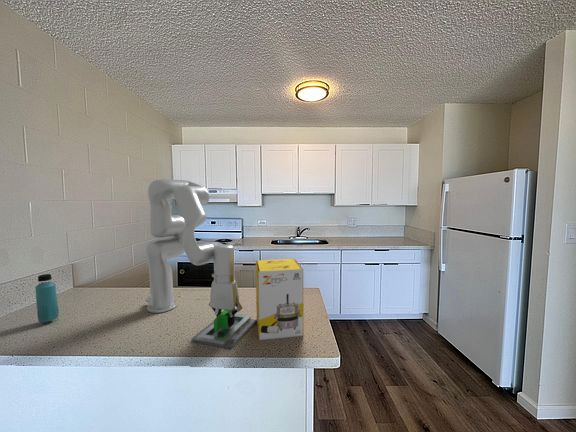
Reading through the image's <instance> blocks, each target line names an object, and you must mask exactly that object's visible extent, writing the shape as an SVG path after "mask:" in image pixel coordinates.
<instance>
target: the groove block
mask: <svg viewBox="0 0 576 432" xmlns="http://www.w3.org/2000/svg"><path fill="white" fill-rule="evenodd" d="M255 324H257V319H254V318H253V319H252V316H251V315H245V314H238V313H236V314H235V323H234V324H233V325H232V326H231V327H228V329H221V328H220V330H219V331H218V332H214V320H213V321H212V322H210V323H209V324H208V325H207V326H206V327H204V328H203V329H202V330H200V331H199V332H197V333H196V334H195V335H194V336H193V337H191V339H190V340H191V342H193V343H197V344H198V343H199V344H204V345H208V346H214V347H219V348H223V349H228V350H232V349H233V348H234V347H235V345H236V344H238V342H239V341H240V340H242V338H243V337H244V336H245V335H246V334H247V333H248V332H249V331H250V330H251V329H252V328H253V326H254V325H255Z"/></svg>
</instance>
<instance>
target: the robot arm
mask: <svg viewBox="0 0 576 432" xmlns="http://www.w3.org/2000/svg"><path fill="white" fill-rule="evenodd" d="M147 196H148V200H149V204H150V205H149V206H150V207H149V208H150V211H149V212H150V215H149V216H150V217H149V218H150V219H149V221H150V222H149V230H150V232H149V233H150V235H151V236H153V237H154V238H163V239H156V240H152V241H150V242H148V243H147V244H146V246H145V255H146V258H147V265H148V272H149V274H148V275H149V277H148V278H149V292H150V293H149V295H148V296H147V298H146V299H145V303H148V305H147V307H146V310H147V311H148V312H149V313H153V314H159V313H165V312H168V311H171V310H173V309H175V308H176V307H177V306H178V301H176V300H175V299H174V282H173V268H172V265H170V263H169V262H168V261H167V260H171V259H176V258H178V257H181V256H183V255H184V254H185V255H186V257H187V259H188V261H189V262H190V263H191V264H192V265H194V266H202V265H206V264H210V263H213V273H211V277H212V278H213V281H211V282H212V283H211V286H210V287H211V288H210V294H209V295H210V300H209V303H208V306H209V307H210V308H211V309H212V310H213V312H214V314H215V315H216V317H218V316H219V315H220V314H221V313H222V312H223V311H224V310H228V311H229V317H228V327H231V326H232V325H233V324H234V323H235V314H238V313H239V312H241V311H242V310H243V306H242V304H241V303H240V296H239V295H240V294H239V286H238V283H237V280H236V278H235V277H236V276H235V275H236V274H235V273H236V272H235V270H236V269H235V247H234V246H233V245H231V244H224V243H222V242H219V241H212V242H204V243H201V244H198V241H197V239H196V235H195V230H196V228H197V227H199V226H200V225H202V224H204V222H205V221H206V220H207V214H206V212H205V210H204V208H203V206H206V205H207V204H208V203H209V201H210V193H209V191H208V189H207V188H206V187H205V186H202V185H200V184H197V183H195V182H192V181H190V180H185V179H184V180H183V179H173V178H172V179H170V178H168V179H167V178H161V179H160V178H159V179H154V180H152V181H151V182H150V184H149V186H148V189H147ZM169 200H175V202H176V204H177V205H176V206H177V207H178V210H179V212H180V215H176V214H175V215H172V204H171V203H170V201H169ZM166 237H167V238H166ZM168 237H169V238H168ZM216 317H215V318H216Z"/></svg>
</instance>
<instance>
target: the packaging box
mask: <svg viewBox="0 0 576 432" xmlns="http://www.w3.org/2000/svg"><path fill="white" fill-rule="evenodd" d="M255 295H256V296H255V299H256V303H255V305H256V306H255V307H256V321H257V322H256V324H257V326H256V327H257V334H258V340H259V341H263V340H264V341H265V340H275V339H283V338H284V339H285V338H295V337H303V336H304V268H303V267H302V266H301V264H299V262H298V261H297V259H296V258H285V259H284V258H282V259H281V258H280V259H279V258H277V259H262V260H261V259H260V260H255Z"/></svg>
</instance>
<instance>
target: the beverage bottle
mask: <svg viewBox="0 0 576 432" xmlns="http://www.w3.org/2000/svg"><path fill="white" fill-rule="evenodd" d="M52 279H53V278H52V274H50V273H47V274H46V273H44V274H39V275H38V277H37V282H41V283H38V284H37V285H36V286H35V287H34V288H35V299H36V301H35V302H36V314H37V321H38V322H39V323H46V322H51V321H54V320H56V319H57V318H58V317H59V313H60V312H59V305H58V296H57V286H56V283H55V282H54V281H51V280H52Z"/></svg>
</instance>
